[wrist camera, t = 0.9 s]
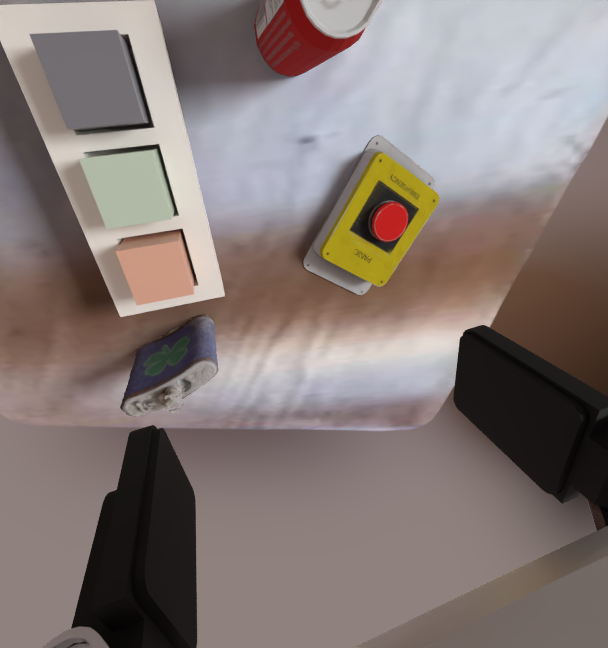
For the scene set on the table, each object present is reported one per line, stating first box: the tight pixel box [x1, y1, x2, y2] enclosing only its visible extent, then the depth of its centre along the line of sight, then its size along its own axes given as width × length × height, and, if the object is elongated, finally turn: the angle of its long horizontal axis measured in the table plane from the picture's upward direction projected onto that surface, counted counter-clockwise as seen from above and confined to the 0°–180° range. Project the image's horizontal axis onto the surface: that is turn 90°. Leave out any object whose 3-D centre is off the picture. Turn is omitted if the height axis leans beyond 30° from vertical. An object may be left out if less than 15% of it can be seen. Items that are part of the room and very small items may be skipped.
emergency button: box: [303, 135, 439, 295], centre depth 35 cm, size 9×4×15 cm
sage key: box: [79, 149, 175, 229], centre depth 24 cm, size 4×4×4 cm
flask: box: [120, 315, 218, 417], centre depth 32 cm, size 9×3×11 cm, turn 114°
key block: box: [0, 0, 225, 317], centre depth 27 cm, size 20×9×5 cm, turn 5°
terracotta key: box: [116, 229, 194, 305], centre depth 27 cm, size 4×4×4 cm
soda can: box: [254, 0, 382, 76], centre depth 22 cm, size 6×6×12 cm
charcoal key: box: [29, 30, 151, 130], centre depth 21 cm, size 4×4×4 cm
